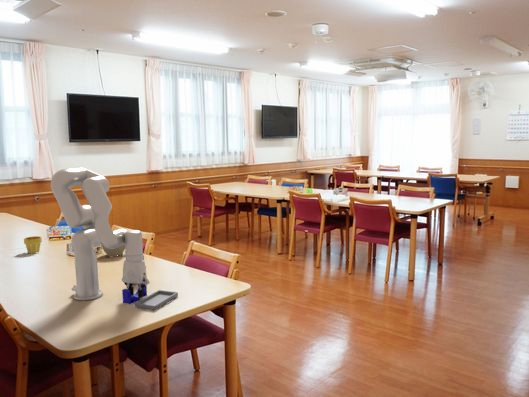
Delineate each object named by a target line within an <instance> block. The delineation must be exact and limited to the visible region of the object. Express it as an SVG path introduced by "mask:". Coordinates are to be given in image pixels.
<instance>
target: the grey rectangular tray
mask: <svg viewBox="0 0 529 397" xmlns="http://www.w3.org/2000/svg"><path fill="white" fill-rule="evenodd" d="M178 297H179V292H178V291H170V290H169V291H168V290H162V289H159V290H158V289H157V290H156V291H154V292H153V293H150V294H149V295H147V296H145V297H142V298H141V299H140V300H139V301H137V302H135V303H134V308H135V309H142V310H148V311H149V310H150V311H154V312H155V311H157V310H158V309H160V308H162V307H163V306H165V305H166V304H169V303H170V302H172V301H173V300H174V299H176V298H178Z"/></svg>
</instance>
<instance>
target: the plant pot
mask: <svg viewBox="0 0 529 397" xmlns="http://www.w3.org/2000/svg"><path fill="white" fill-rule="evenodd" d="M42 238H43V237H42V236H37V235H36V236H27V237H24V238H23V243H24V245H25V248H26V252H27V253H28V254H30V253H33V254H37V253H36V252H38V253H39V252H40V249H41V245H42V244H41V243H42V240H43V239H42Z"/></svg>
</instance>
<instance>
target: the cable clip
mask: <svg viewBox="0 0 529 397" xmlns="http://www.w3.org/2000/svg"><path fill="white" fill-rule="evenodd" d="M141 286H142V285H141ZM138 290H139V287H138V289H137V291H136V292H134V295H131V293H130V290H128V288H123V289H122V291H121V293H122V303H123V304H126V305H132V304H135V303H136V302H138V301H140V300H141V298H138ZM147 290H148V289H147V286H146V287H145V288H144V297H143V298H145V297H147V296H148V293H147V292H148V291H147Z"/></svg>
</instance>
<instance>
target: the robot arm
mask: <svg viewBox="0 0 529 397" xmlns="http://www.w3.org/2000/svg"><path fill="white" fill-rule="evenodd" d="M78 186H80V187H81V191H82V193H83V195H84V197H85V199H86V200H87V203H88V204H83V205H82V204H81V202H80V200H79V197H78V196H77V194H76V193H75V191H73V190H72V188H73V187H78ZM110 186H111V185H110V182H109V180H108V179H107V178H106V177H105V176H103V175H102V174H99V173H97V172H94V171H92V170H89V169H87V168H84V167H70V168H69V167H68V168H62V169H60V170H58V171H56V172H55V173H54V174H53V175H52V177H51V181H50V189H51V191H52V194H53V196H54V198H55V199H56V201H57V204H58V207H59V209H60V210H61V213H62V215H63V218H64V220H65V222H66V225H67V226H68V227H69V228H71V229H78V228H81V227H83V229H80V230H78V231H76V232H74V234H72V237H71V240H70V243H71V247H72V252H73V256H74V265H75V279H76V284H75V285H73V286H72V288H71V291H73V292H75V293H74V294H73V299H75V300H76V301H91V300H96V299H98V298H100V297H102V296H103V294H104V293H103V292H104V291H103V290H101V289H100V285H99V283H100V282H99V271H98V270H99V269H98V268H99V266H98V257H97V253H96V251H95V249H94V248H95V247H98V246H101V244H103V246H104V247H106V248H107V249H115V248H117V247H119V246H122V245H125V250H124V252H125V254H124V253H123V257H124V258H125V260H124V261H123V267H122V277H121V282H123V284H124V285H125V287H126V289H128V290H130V293H131V295H134V294H135V292H134V291H135V289H134V285H133V284H136V285H137V287H138V288H139V290H138V289H137V291H138V298H140V299H143V298H145V297H144V288H145V287H146V286H147V285H149V284H150V283H151V282H150V280H149V279H148V277H147V275H148V274H147V266H146V263H145V259H144V260H143V255H144V251H143V248H144V247H143V234H142V231H141V230H139V229H126V228H117V229H115V230H113V228H112V227H111V225H110V223H109V222H110V220H109V216H110V213H111V211H112V209H113V205H112V203H111V201H110V198H109V197H108V195H107V192H108V191H109V190H110V189H111V188H110ZM145 266H146V267H145ZM141 285H142V286H141Z"/></svg>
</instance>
